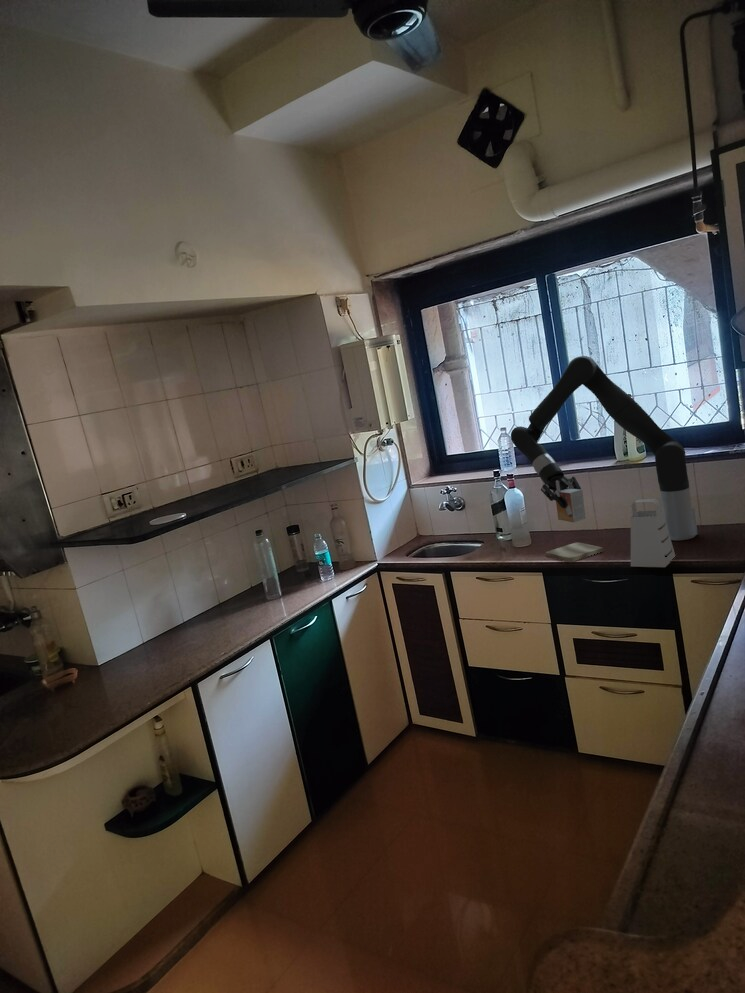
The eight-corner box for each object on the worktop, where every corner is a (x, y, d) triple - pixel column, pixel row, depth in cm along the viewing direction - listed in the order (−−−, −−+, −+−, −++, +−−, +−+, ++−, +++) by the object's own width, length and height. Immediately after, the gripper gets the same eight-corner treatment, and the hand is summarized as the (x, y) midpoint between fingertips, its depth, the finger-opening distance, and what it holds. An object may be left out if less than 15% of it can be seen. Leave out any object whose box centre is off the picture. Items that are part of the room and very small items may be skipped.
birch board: (577, 545, 244) (577, 542, 244) (603, 551, 231) (602, 547, 231) (546, 556, 239) (545, 552, 239) (570, 562, 226) (570, 558, 226)
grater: (642, 556, 218) (633, 497, 215) (675, 556, 211) (667, 495, 208) (630, 566, 210) (622, 505, 207) (665, 567, 203) (656, 504, 200)
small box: (558, 520, 233) (553, 491, 231) (570, 516, 235) (566, 487, 234) (573, 522, 226) (569, 492, 224) (586, 518, 228) (582, 489, 226)
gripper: (534, 466, 232) (560, 503, 223) (567, 458, 237) (594, 493, 228) (527, 480, 238) (552, 516, 229) (560, 471, 243) (586, 506, 233)
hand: (573, 504), depth 228 cm, fingers closed on small box, 6 cm apart
